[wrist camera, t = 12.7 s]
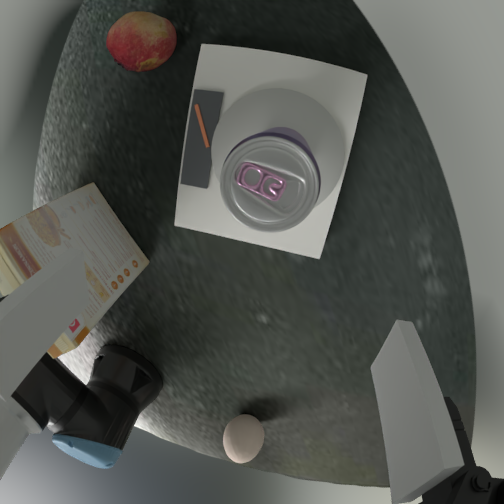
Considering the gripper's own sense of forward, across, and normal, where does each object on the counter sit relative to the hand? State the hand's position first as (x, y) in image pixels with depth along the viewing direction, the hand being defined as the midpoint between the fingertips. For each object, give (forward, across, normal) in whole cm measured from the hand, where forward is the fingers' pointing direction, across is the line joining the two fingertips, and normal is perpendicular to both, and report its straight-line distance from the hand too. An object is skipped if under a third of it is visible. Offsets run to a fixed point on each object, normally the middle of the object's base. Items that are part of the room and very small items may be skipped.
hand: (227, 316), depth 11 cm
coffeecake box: (+27, -23, -12) cm, 37 cm away
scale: (+26, -2, +4) cm, 27 cm away
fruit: (+27, -17, +15) cm, 35 cm away
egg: (+27, +4, -47) cm, 55 cm away
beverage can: (+22, 0, +4) cm, 23 cm away
